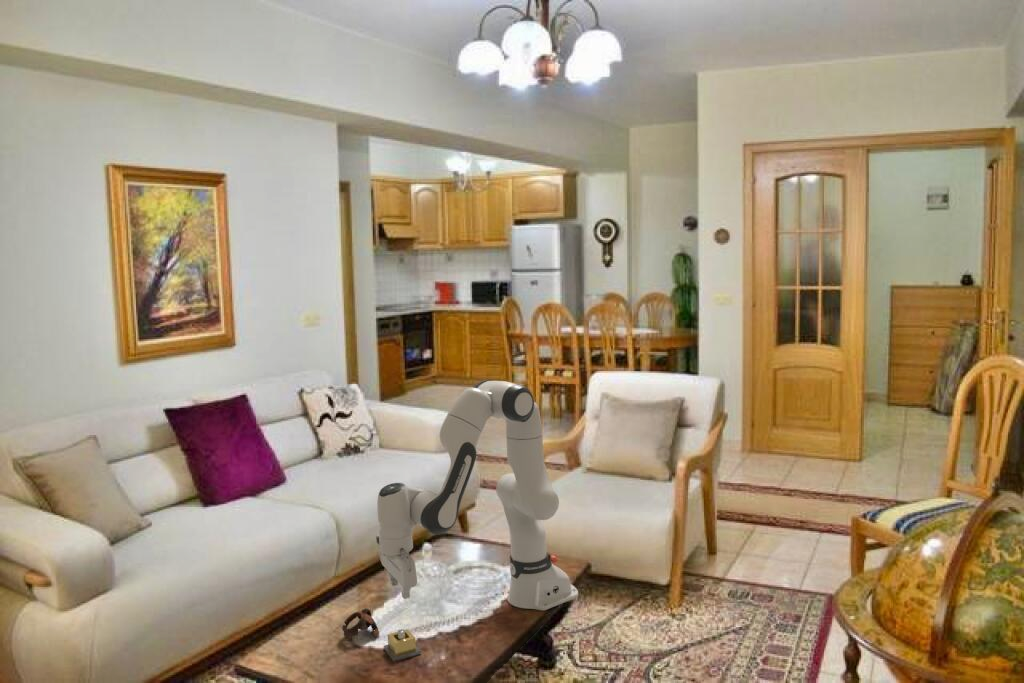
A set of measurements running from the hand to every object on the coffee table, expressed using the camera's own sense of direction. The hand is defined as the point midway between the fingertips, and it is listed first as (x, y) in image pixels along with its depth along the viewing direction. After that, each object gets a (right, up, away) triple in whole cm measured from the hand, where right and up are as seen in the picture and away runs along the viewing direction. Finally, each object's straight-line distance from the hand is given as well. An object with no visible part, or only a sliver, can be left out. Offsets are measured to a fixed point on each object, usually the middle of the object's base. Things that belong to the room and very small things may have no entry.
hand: (400, 591), depth 226 cm
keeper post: (0, -18, +2) cm, 18 cm away
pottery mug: (-12, -17, +12) cm, 24 cm away
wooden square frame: (0, -17, +2) cm, 17 cm away
